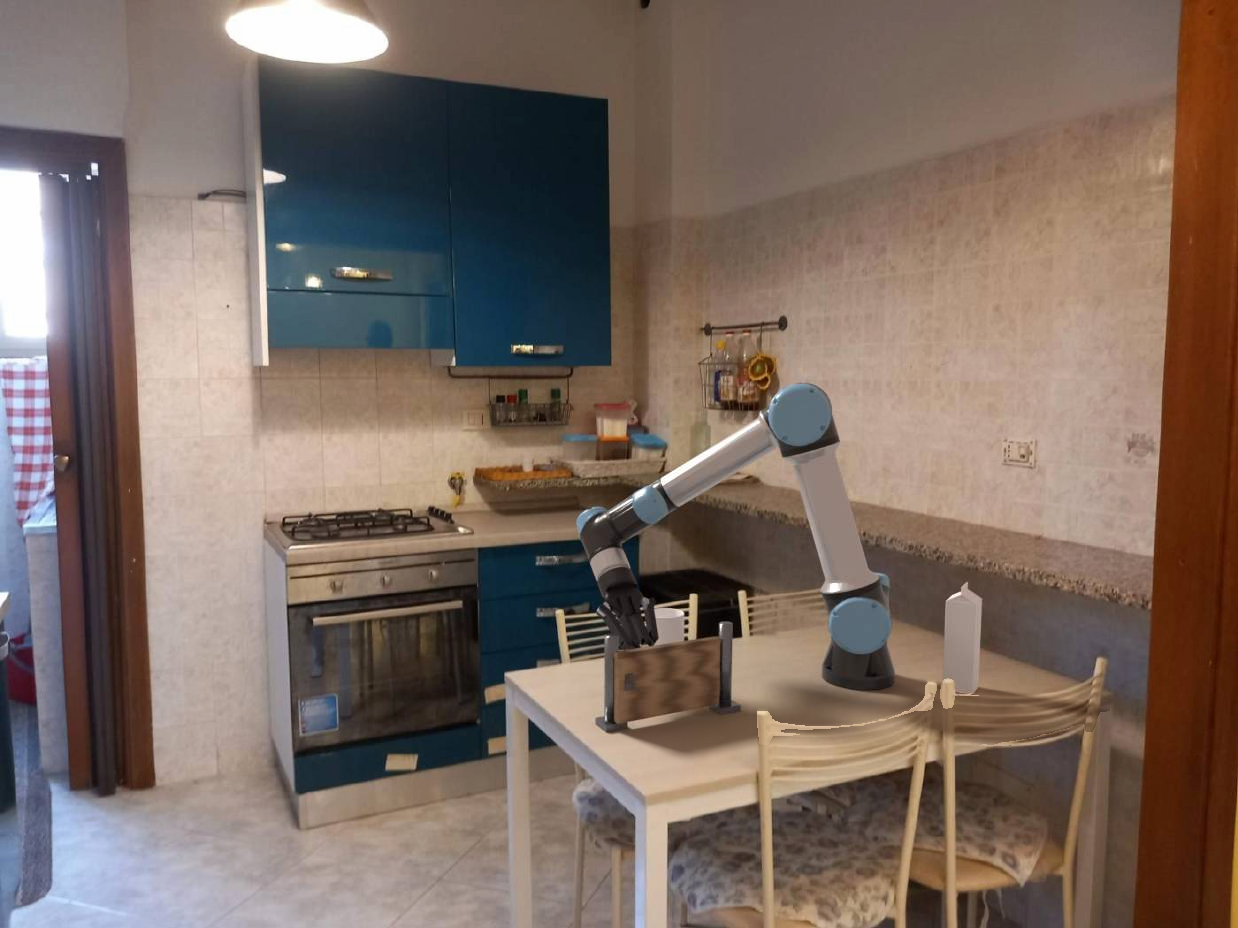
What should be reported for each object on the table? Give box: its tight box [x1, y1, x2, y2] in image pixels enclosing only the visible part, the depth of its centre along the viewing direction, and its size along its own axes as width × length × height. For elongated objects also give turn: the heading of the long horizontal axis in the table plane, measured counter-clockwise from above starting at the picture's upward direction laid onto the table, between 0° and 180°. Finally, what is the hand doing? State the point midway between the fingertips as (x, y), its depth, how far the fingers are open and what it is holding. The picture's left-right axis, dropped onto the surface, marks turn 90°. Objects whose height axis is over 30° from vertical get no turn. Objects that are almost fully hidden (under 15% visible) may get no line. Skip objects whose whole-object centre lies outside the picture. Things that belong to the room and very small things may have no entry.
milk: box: [942, 581, 983, 694], centre depth 192 cm, size 6×6×22 cm
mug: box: [640, 607, 685, 647], centre depth 211 cm, size 9×12×11 cm
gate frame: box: [594, 621, 742, 733], centre depth 176 cm, size 28×7×17 cm, turn 118°
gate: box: [613, 635, 721, 724], centre depth 174 cm, size 22×2×13 cm, turn 118°
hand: (653, 677), depth 179 cm, fingers closed
